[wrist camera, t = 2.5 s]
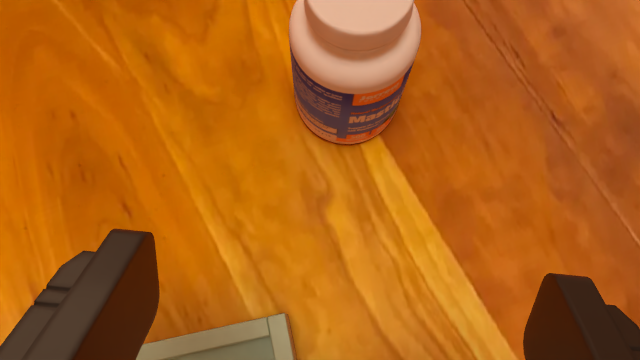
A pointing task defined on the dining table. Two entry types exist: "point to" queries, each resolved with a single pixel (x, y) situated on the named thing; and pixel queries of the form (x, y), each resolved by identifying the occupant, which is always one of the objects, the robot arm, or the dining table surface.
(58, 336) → the robot arm
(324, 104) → the pill bottle
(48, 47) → the dining table surface
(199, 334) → the tray
